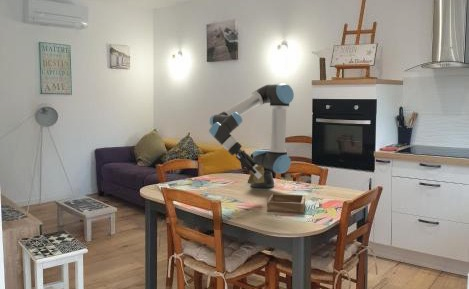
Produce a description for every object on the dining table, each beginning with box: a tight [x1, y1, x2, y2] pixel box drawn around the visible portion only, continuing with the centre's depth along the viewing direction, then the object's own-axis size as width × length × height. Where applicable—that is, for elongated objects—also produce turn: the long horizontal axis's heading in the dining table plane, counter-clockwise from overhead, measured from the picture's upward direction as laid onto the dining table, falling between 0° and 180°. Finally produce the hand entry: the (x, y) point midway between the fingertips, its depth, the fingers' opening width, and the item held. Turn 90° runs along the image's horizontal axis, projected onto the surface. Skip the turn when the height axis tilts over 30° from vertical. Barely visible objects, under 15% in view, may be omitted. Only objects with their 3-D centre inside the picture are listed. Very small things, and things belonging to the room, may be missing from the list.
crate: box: [266, 193, 306, 214], centre depth 221 cm, size 18×18×5 cm
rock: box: [247, 165, 264, 185], centre depth 233 cm, size 11×9×10 cm
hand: (261, 175), depth 232 cm, fingers closed on rock, 8 cm apart
